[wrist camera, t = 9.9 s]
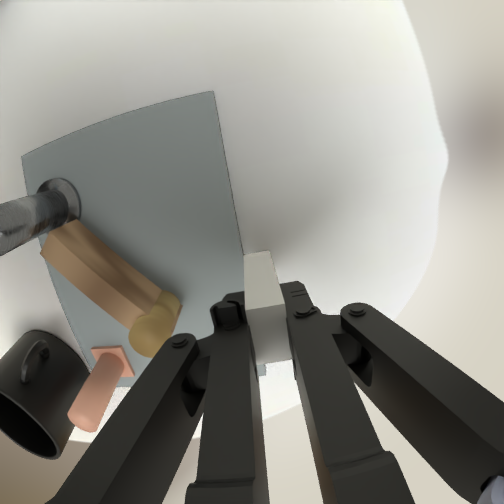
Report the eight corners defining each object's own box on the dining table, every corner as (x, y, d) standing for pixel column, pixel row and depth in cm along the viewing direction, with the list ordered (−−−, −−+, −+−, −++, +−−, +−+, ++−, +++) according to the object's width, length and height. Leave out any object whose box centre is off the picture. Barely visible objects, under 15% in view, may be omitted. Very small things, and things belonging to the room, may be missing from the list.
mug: (106, 343, 23) (63, 415, 14) (87, 412, 26) (60, 471, 17) (24, 291, 21) (-35, 341, 13) (20, 370, 24) (-17, 419, 16)
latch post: (93, 344, 23) (55, 404, 15) (123, 342, 23) (88, 407, 15) (107, 371, 24) (76, 433, 16) (136, 371, 24) (109, 437, 16)
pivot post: (36, 186, 18) (-35, 205, 11) (77, 170, 18) (5, 183, 11) (48, 238, 20) (-16, 275, 12) (90, 227, 20) (26, 264, 12)
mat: (24, 156, 18) (21, 156, 17) (213, 91, 17) (213, 90, 17) (102, 384, 24) (101, 386, 24) (265, 372, 24) (265, 375, 24)
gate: (64, 241, 18) (29, 262, 14) (78, 215, 18) (42, 232, 14) (168, 326, 21) (154, 364, 16) (187, 304, 20) (175, 341, 16)
